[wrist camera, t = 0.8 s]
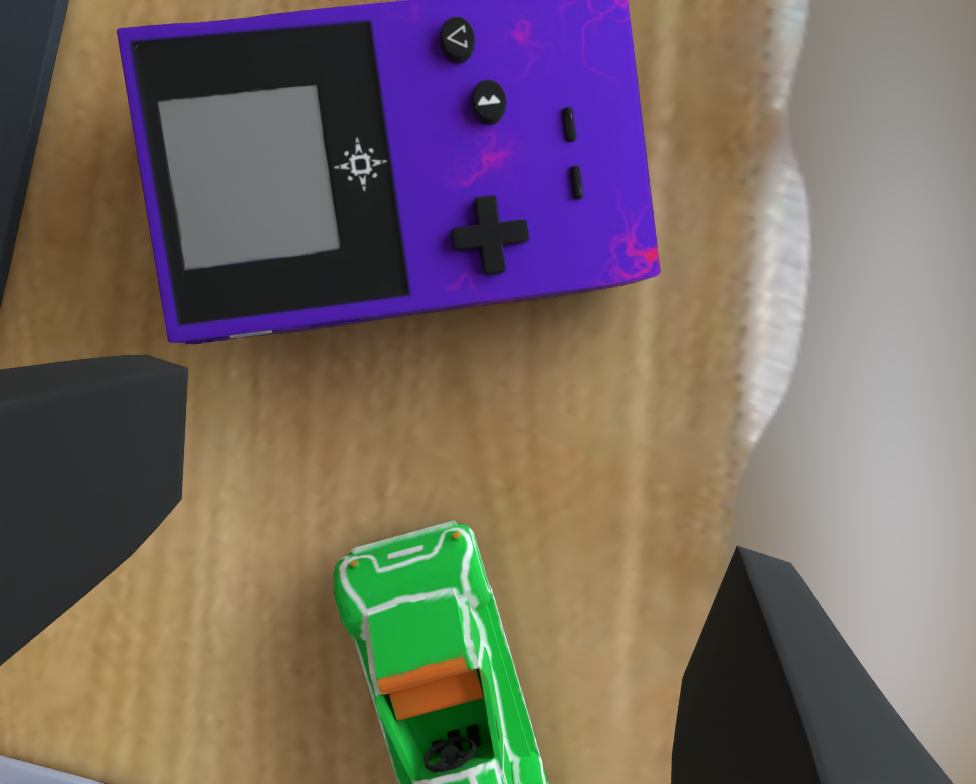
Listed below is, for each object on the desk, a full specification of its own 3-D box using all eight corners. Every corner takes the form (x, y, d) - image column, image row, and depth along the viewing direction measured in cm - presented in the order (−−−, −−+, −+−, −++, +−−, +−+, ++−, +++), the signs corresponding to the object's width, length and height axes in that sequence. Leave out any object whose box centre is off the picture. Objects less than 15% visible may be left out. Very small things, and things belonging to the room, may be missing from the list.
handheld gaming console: (666, 279, 24) (163, 345, 22) (621, 291, 29) (210, 346, 28) (629, -34, 23) (109, 16, 22) (589, 36, 28) (167, 80, 27)
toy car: (561, 817, 29) (572, 902, 24) (428, 852, 29) (415, 943, 25) (471, 509, 28) (466, 541, 24) (335, 547, 28) (305, 585, 24)
